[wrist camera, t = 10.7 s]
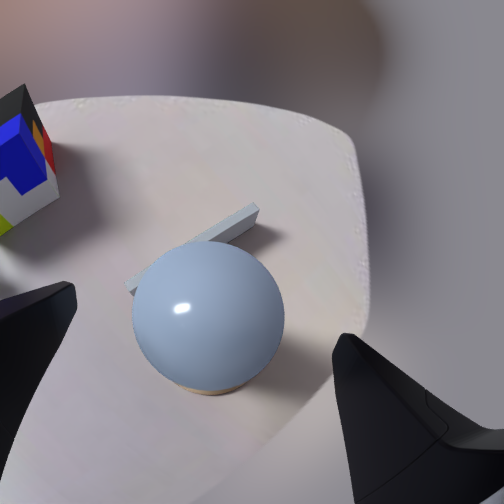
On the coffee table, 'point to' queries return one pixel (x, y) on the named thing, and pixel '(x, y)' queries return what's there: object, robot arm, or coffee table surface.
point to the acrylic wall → (214, 235)
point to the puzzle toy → (23, 160)
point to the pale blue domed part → (208, 315)
